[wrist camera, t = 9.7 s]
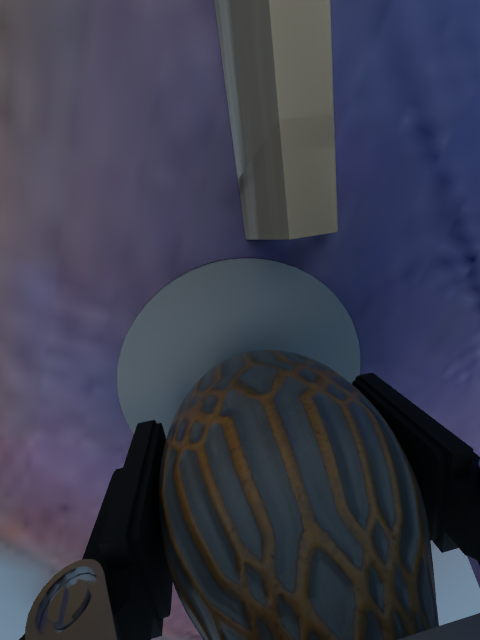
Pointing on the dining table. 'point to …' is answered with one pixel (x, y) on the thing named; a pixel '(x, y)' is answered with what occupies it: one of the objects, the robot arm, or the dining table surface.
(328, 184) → the holder
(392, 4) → the dining table surface
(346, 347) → the mat
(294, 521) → the vase
